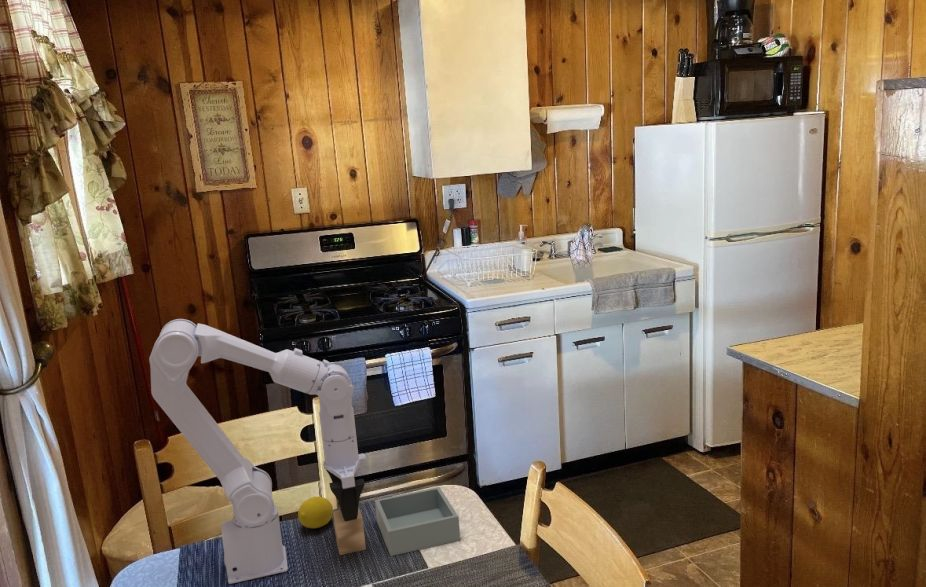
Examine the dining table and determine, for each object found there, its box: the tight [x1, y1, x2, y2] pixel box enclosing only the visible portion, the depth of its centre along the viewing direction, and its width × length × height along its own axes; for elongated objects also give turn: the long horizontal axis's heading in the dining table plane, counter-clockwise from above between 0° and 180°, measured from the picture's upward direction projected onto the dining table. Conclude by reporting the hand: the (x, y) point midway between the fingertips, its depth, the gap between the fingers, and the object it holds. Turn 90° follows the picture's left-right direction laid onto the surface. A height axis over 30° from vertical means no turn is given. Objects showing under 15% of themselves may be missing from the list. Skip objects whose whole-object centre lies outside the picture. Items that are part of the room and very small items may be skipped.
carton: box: [332, 507, 367, 556], centre depth 123 cm, size 4×4×6 cm
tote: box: [374, 486, 461, 557], centre depth 127 cm, size 12×12×4 cm
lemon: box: [297, 496, 334, 529], centre depth 131 cm, size 6×6×8 cm
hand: (347, 509), depth 123 cm, fingers open, 7 cm apart
